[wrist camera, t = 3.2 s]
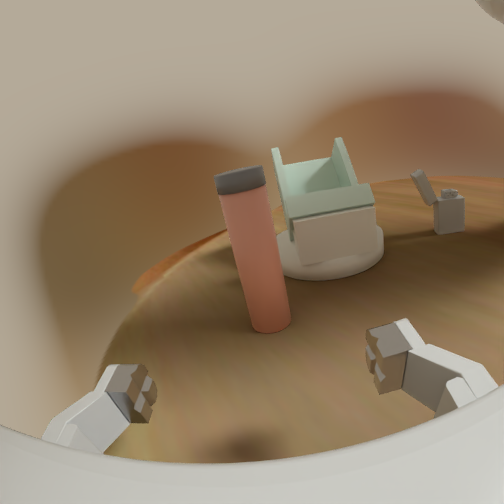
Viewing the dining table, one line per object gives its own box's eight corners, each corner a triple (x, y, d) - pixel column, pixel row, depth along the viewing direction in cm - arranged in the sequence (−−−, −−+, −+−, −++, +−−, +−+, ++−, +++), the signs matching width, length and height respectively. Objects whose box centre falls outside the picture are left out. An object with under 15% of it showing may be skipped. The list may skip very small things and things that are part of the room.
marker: (274, 305, 25) (244, 166, 21) (300, 317, 23) (272, 164, 19) (243, 323, 24) (205, 178, 20) (268, 339, 21) (230, 175, 17)
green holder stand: (270, 244, 40) (250, 151, 35) (362, 226, 39) (349, 135, 34) (276, 291, 28) (247, 157, 23) (403, 264, 26) (393, 135, 22)
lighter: (458, 226, 31) (457, 165, 28) (464, 231, 29) (464, 167, 27) (413, 233, 33) (409, 169, 30) (417, 237, 31) (414, 171, 28)
